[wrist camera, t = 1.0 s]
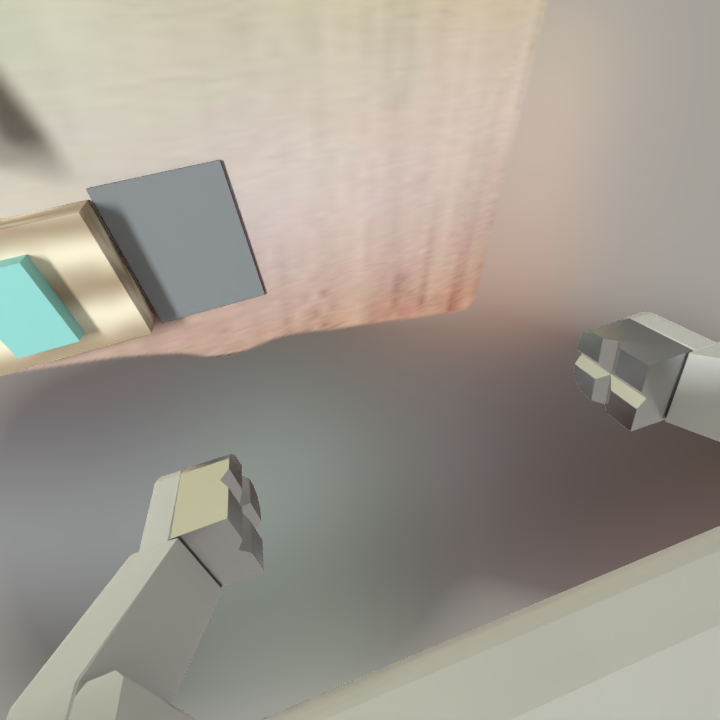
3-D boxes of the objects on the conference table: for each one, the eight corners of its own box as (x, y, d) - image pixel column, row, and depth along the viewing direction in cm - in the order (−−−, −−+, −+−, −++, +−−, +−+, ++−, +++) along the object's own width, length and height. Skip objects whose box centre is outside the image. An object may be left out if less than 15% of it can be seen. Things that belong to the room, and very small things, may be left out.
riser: (-95, 240, 36) (-121, 257, 33) (87, 199, 38) (78, 212, 35) (13, 354, 45) (0, 375, 42) (154, 315, 47) (151, 333, 44)
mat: (87, 188, 38) (86, 189, 37) (219, 159, 40) (219, 160, 39) (162, 321, 48) (162, 322, 48) (264, 293, 50) (264, 294, 50)
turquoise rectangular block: (-45, 271, 35) (-56, 280, 33) (26, 254, 36) (19, 263, 34) (24, 347, 41) (17, 358, 39) (83, 331, 42) (79, 341, 40)
